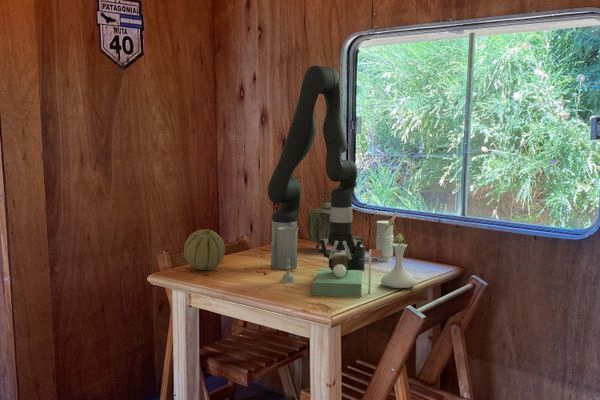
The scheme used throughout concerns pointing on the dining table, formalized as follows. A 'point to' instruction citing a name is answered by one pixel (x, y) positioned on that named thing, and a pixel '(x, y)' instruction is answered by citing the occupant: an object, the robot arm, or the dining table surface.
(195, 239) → the cantaloupe
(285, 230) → the chalice
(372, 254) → the flag pin
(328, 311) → the dining table surface
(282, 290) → the dining table surface
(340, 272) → the ball
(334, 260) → the wooden channel cradle
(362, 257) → the supplement bottle
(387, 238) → the candle
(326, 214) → the tabletop clock
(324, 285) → the green
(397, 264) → the flower in vase
